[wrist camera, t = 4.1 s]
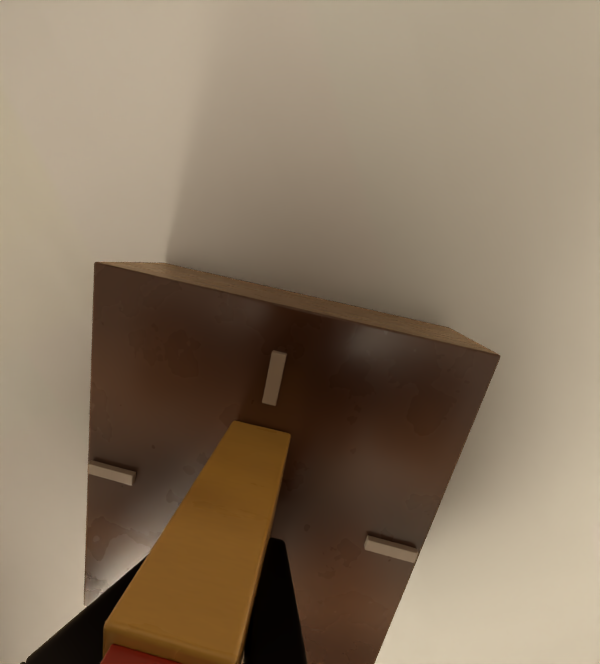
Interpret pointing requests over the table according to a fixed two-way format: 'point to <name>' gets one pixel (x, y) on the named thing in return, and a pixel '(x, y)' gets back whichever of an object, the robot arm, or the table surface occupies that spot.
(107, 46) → the table surface
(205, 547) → the thumb turn
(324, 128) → the table surface
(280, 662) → the robot arm
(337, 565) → the plate
